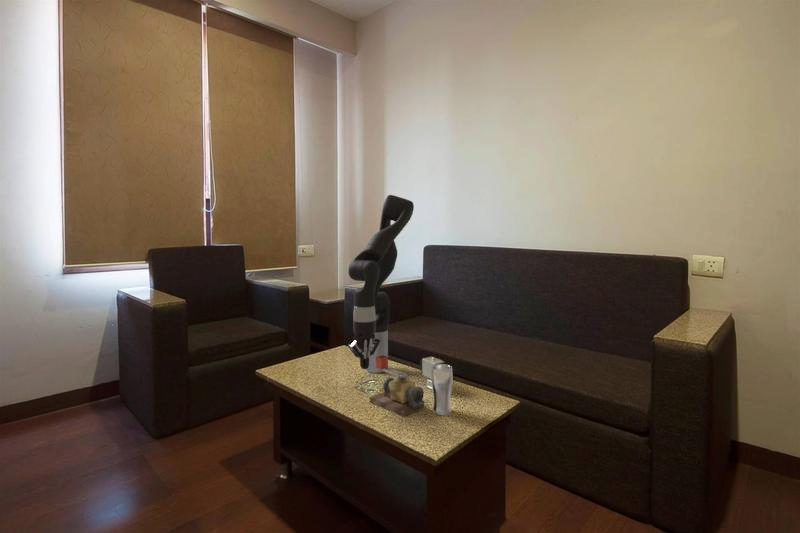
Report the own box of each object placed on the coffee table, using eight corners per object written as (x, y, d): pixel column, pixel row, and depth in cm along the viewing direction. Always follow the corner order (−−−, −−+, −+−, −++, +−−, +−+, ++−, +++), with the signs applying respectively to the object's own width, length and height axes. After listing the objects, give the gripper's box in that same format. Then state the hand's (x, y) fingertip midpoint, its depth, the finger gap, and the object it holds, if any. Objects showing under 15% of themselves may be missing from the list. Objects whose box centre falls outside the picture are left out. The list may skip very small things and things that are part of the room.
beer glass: (434, 405, 145) (434, 362, 144) (454, 409, 142) (455, 365, 141) (428, 414, 138) (428, 369, 137) (449, 417, 136) (449, 371, 135)
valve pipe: (370, 402, 148) (369, 376, 147) (390, 394, 155) (390, 368, 154) (406, 417, 136) (406, 388, 135) (426, 407, 143) (426, 380, 143)
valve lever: (409, 377, 144) (409, 364, 144) (402, 379, 142) (402, 366, 142) (381, 367, 155) (381, 354, 154) (375, 369, 153) (375, 356, 152)
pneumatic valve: (438, 394, 154) (438, 362, 153) (419, 385, 164) (419, 354, 163) (450, 391, 158) (450, 359, 156) (430, 382, 167) (430, 352, 166)
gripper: (356, 323, 138) (357, 375, 139) (386, 317, 147) (386, 366, 149) (342, 320, 143) (342, 370, 144) (371, 314, 152) (371, 361, 154)
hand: (364, 368), depth 147 cm, fingers closed
